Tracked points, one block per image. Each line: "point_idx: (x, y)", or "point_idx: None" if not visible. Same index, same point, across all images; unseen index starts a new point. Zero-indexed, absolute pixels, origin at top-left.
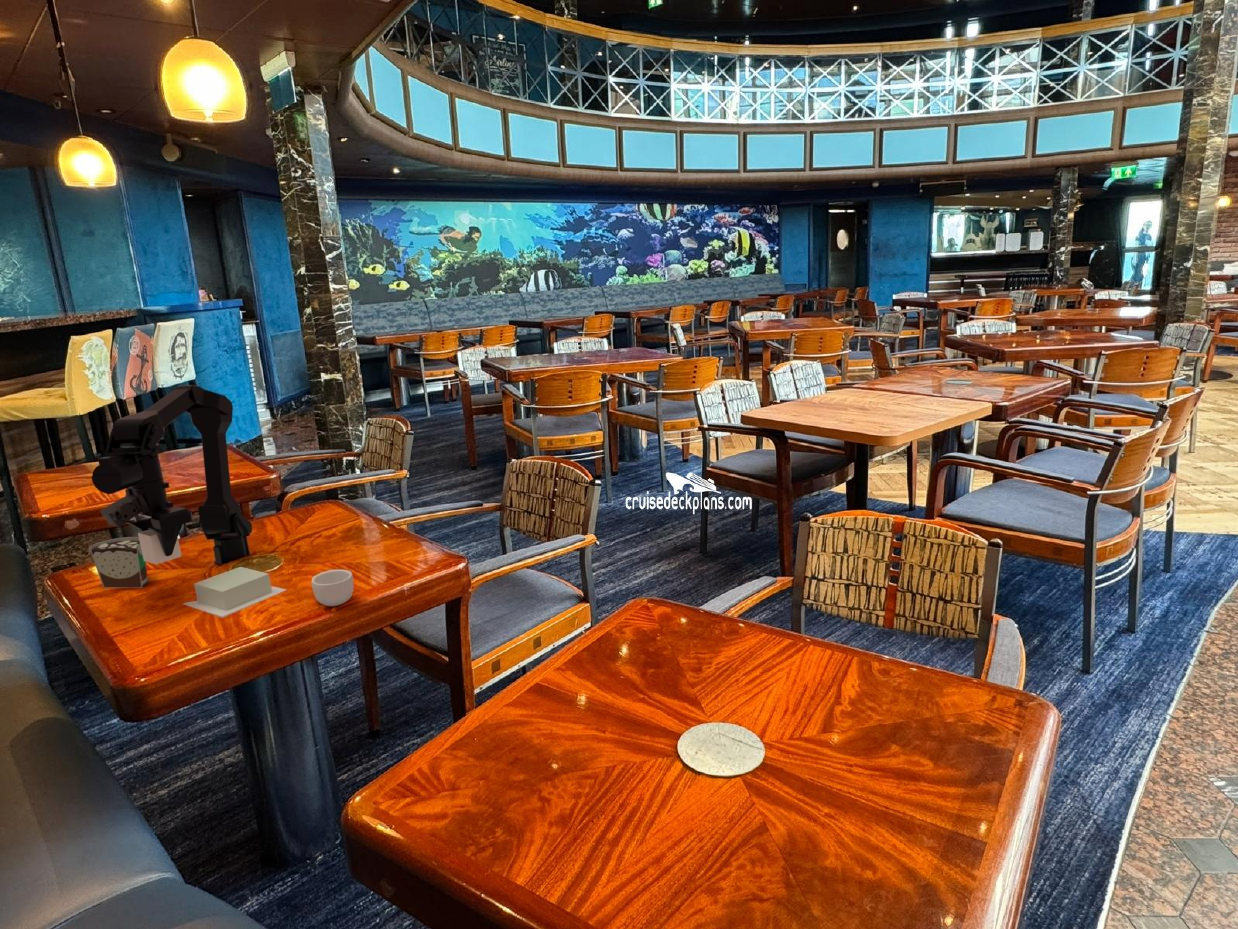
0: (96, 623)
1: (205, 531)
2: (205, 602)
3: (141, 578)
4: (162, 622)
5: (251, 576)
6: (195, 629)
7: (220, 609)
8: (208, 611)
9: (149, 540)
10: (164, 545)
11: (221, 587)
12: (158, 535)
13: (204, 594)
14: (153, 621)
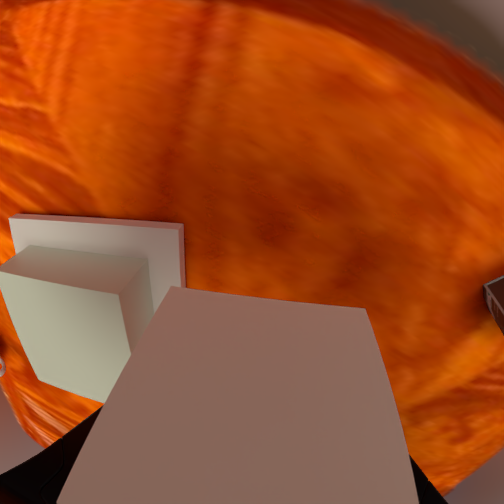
0: (385, 41)
1: None
2: (102, 257)
3: (494, 302)
4: (157, 133)
5: (47, 365)
6: (42, 160)
7: (44, 244)
8: (53, 223)
9: (116, 466)
10: (84, 425)
11: (21, 292)
12: (42, 498)
13: (85, 270)
14: (194, 122)
